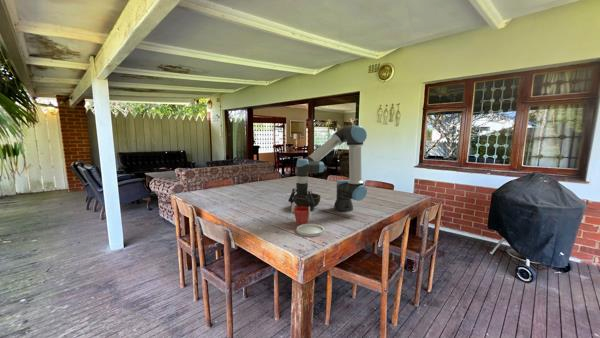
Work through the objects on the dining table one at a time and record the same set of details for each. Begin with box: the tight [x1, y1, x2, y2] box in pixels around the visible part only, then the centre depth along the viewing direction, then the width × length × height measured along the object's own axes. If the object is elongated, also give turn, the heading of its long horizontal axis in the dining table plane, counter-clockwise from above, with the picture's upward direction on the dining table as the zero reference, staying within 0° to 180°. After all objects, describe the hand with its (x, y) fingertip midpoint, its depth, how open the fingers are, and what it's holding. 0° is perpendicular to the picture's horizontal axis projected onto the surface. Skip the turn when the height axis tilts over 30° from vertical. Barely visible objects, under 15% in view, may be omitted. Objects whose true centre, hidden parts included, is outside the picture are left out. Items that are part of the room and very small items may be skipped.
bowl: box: [293, 192, 322, 209], centre depth 208 cm, size 22×22×10 cm
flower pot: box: [293, 206, 310, 225], centre depth 173 cm, size 11×11×10 cm
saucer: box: [296, 223, 325, 238], centre depth 158 cm, size 17×17×2 cm
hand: (301, 214), depth 173 cm, fingers open, 13 cm apart
